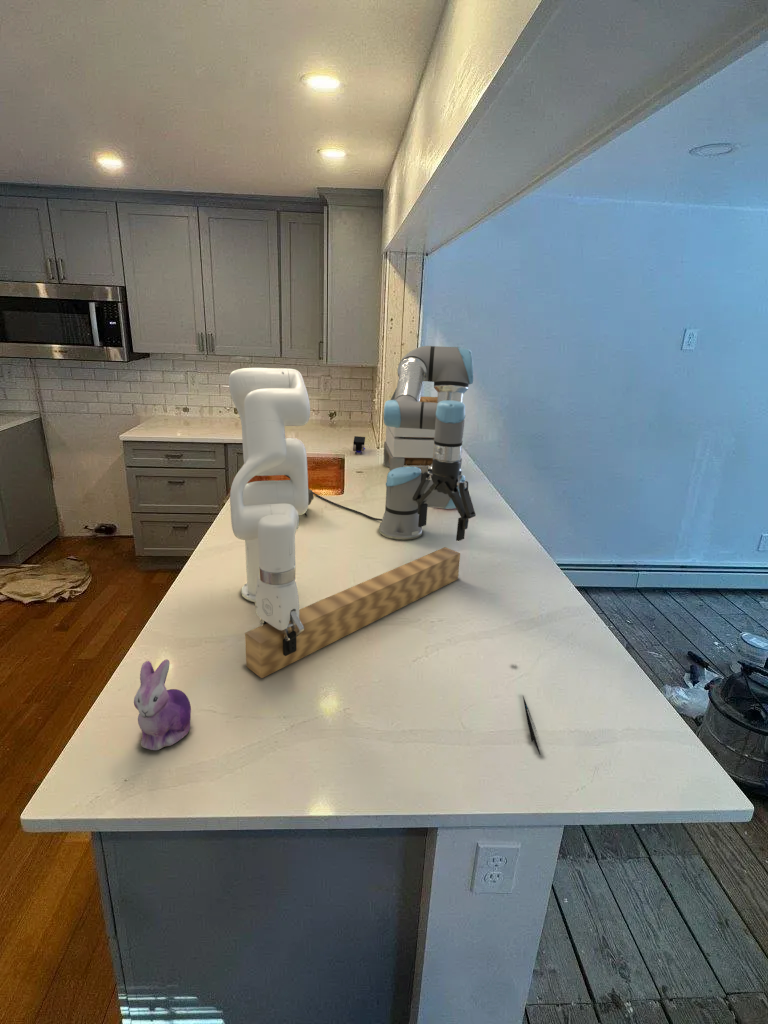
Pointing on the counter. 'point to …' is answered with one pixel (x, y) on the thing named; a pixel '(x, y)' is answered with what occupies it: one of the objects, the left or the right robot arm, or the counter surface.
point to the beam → (351, 610)
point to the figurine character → (358, 444)
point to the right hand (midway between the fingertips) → (440, 532)
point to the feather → (530, 725)
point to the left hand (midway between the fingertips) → (279, 645)
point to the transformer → (409, 444)
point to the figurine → (160, 708)
